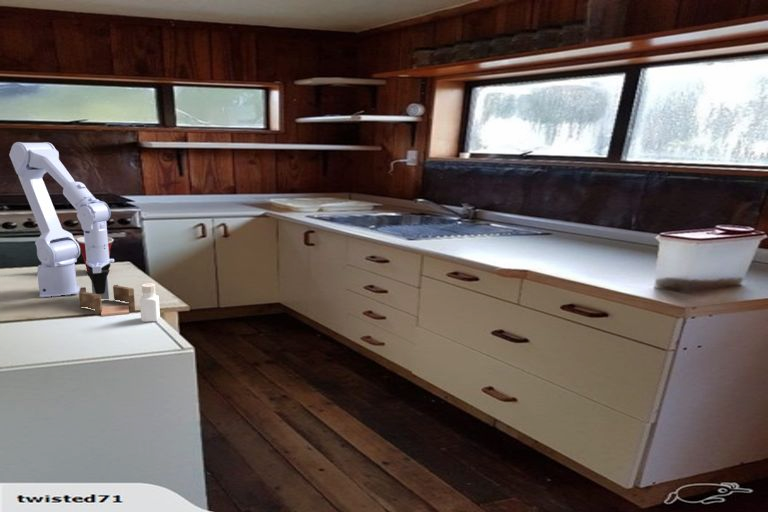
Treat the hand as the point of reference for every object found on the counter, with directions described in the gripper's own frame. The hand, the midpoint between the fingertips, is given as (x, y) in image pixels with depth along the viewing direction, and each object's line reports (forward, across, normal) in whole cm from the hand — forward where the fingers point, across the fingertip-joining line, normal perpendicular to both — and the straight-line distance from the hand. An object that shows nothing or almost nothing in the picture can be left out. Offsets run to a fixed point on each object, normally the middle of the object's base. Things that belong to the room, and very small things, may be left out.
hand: (100, 291), depth 148 cm
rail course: (+2, -8, -2) cm, 8 cm away
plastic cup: (+3, +31, +2) cm, 31 cm away
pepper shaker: (+3, -22, -12) cm, 25 cm away
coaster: (+2, -12, -4) cm, 13 cm away
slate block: (+2, 0, 0) cm, 2 cm away
